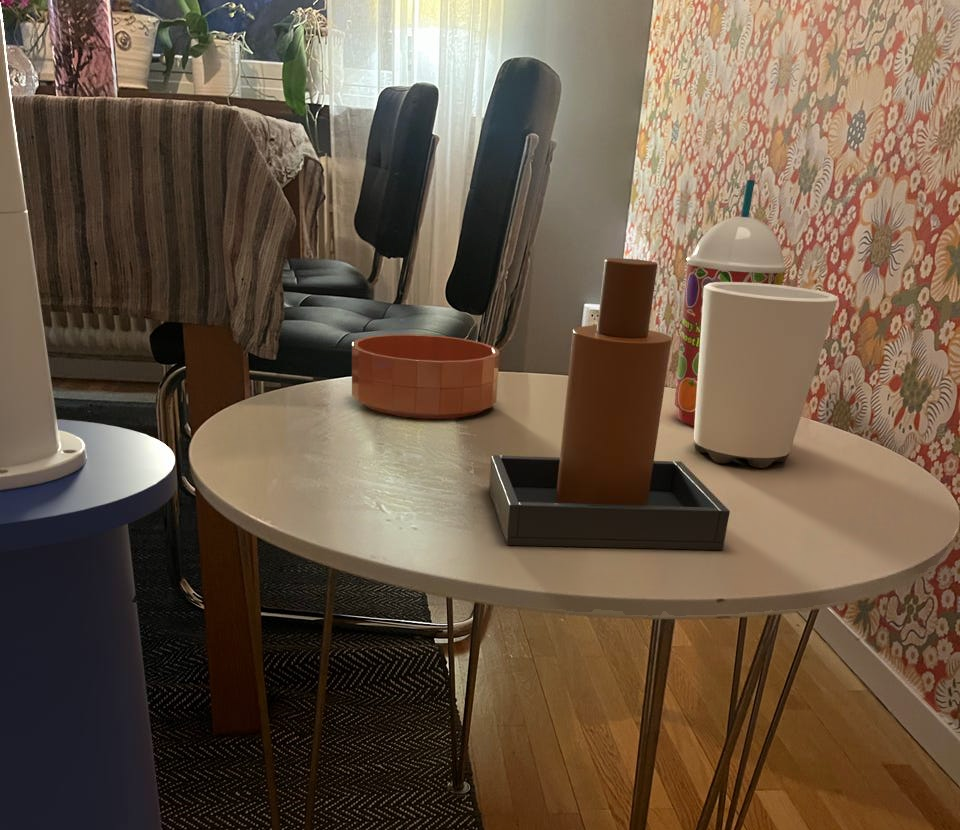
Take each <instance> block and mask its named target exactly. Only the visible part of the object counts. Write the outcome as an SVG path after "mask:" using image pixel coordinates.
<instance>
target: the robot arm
mask: <svg viewBox="0 0 960 830" xmlns="http://www.w3.org/2000/svg"><path fill="white" fill-rule="evenodd" d="M3 21H4V19H3V12H2V5H1V3H0V491H5V490H12V489H19V488H25V487H30V486H35V485H40V484H44V483H47V482H51V481H55V480H58V479H60V478H63V477H66V476H68V475H70V474H72V473H74V472H76V471H78V470H79V469H80V468H81V467H82V466H83V465H84V464H85V462H86V460H87V455H86V447H85V444H84V442H83V441H82V440H81V439H80V438H78V437H76V436H75V435H73V434H70V433H67V432H65V431H60V430H58V425H57V412H56V411H57V410H56V405H55V404H56V403H55V397H54V391H53V384H52V375H51V369H50V363H49V362H50V361H49V354H48V348H47V341H46V333H45V326H44V320H43V313H42V311H43V310H42V305H41V297H40V291H39V283H38V277H37V269H36V263H35V262H36V261H35V255H34V248H33V241H32V235H31V228H30V220H29V219H30V218H29V213H28V209H27V208H28V207H27V200H26V194H25V187H24V179H23V171H22V164H21V158H20V151H19V144H18V136H17V130H16V123H15V113H14V106H13V101H12V91H11V83H10V74H9V69H8V61H7V60H8V59H7V51H6V39H5V29H4V22H3Z"/></svg>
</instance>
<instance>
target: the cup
mask: <svg viewBox="0 0 960 830" xmlns="http://www.w3.org/2000/svg"><path fill="white" fill-rule="evenodd" d="M838 300H839V297H838V296H837V295H835V294H833V293H830V292H826V291H822V290H817V289H812V288H806V287H805V288H803V287H799V286H790V285H773V284H760V283H743V282H714V283H709V284H707V285H705V286H704V291H703V306H702V321H701V336H700V351H699V366H698V381H697V396H696V411H695V426H693V427H694V428H693V446H694V451H696V452H698V453H701V454H708V455H709V457H710V458H711V460H712V461H713V462H715V463H716V464H723V465H724V464H729V463H732V462H733V461H734V460H735V459H743V460H745V461H746V462H747V463H748V465H750V466H751V467H753V468H757V469H765V468H767V467H769V466H770V465H772V464H773V463H774V462H775V463H782V462H786V460H787V459H788V457H789V456H790V452H791V449H792V446H793V443H794V440H795V436H796V434H797V430H798V428H799V424H800V421H801V418H802V415H803V411H804V408H805V405H806V402H807V398H808V395H809V392H810V389H811V386H812V382H813V379H814V376H815V373H816V370H817V367H818V365H819V361H820V357H821V354H822V351H823V348H824V344H825V341H826V338H827V335H828V331H829V328H830V325H831V322H832V319H833V316H834V313H835V309H836V307H837V303H838Z"/></svg>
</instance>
